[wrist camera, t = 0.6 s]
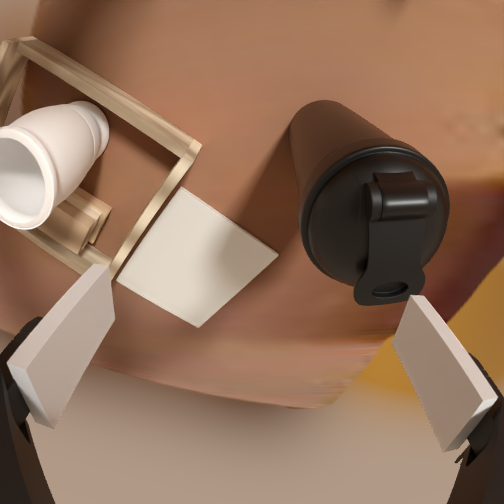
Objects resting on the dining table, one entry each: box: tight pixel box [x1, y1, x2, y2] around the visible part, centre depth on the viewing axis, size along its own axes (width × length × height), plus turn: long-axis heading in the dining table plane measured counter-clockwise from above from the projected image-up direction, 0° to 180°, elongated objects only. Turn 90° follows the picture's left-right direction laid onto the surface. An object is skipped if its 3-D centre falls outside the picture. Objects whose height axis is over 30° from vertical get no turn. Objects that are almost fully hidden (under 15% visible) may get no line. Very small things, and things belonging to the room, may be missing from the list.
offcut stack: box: [37, 186, 112, 255], centre depth 37 cm, size 6×18×6 cm, turn 52°
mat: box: [116, 186, 278, 328], centre depth 46 cm, size 20×16×1 cm
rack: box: [0, 36, 202, 280], centre depth 34 cm, size 24×28×6 cm
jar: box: [0, 101, 109, 230], centre depth 28 cm, size 11×10×15 cm
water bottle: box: [289, 100, 450, 306], centre depth 26 cm, size 10×10×23 cm
